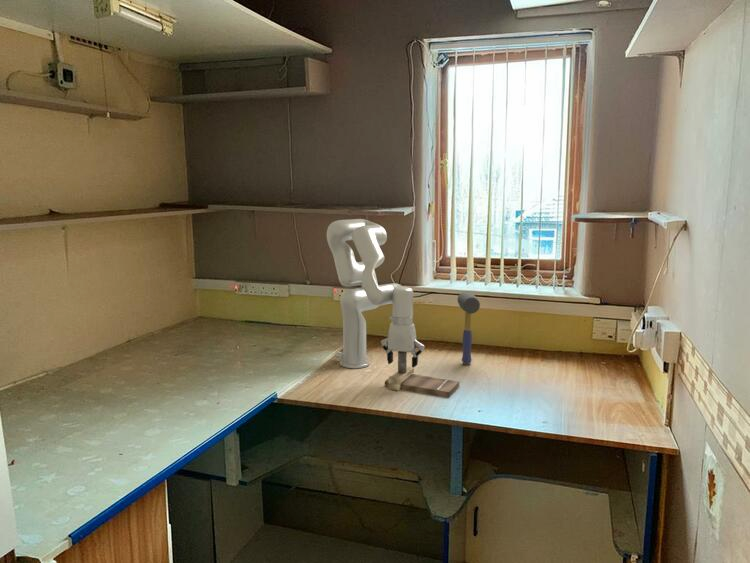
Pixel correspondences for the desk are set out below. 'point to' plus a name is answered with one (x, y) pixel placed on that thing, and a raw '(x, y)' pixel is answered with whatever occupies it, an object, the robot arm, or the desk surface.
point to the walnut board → (428, 385)
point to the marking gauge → (400, 372)
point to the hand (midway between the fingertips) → (402, 364)
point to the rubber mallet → (468, 322)
